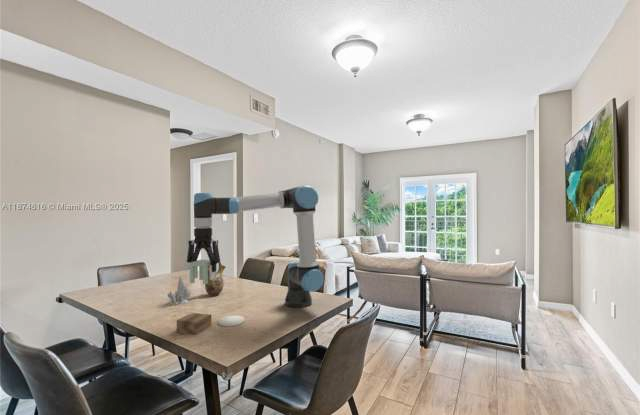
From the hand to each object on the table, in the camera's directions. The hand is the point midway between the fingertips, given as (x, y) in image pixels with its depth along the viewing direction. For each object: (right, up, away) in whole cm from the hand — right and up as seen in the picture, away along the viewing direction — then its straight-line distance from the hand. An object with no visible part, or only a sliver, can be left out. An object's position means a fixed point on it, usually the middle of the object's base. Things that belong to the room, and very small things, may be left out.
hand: (203, 278), depth 136 cm
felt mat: (+11, -22, +6) cm, 25 cm away
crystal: (-28, -22, +36) cm, 51 cm away
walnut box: (-3, -21, -2) cm, 22 cm away
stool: (0, -1, 0) cm, 1 cm away
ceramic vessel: (-13, -23, +53) cm, 59 cm away
